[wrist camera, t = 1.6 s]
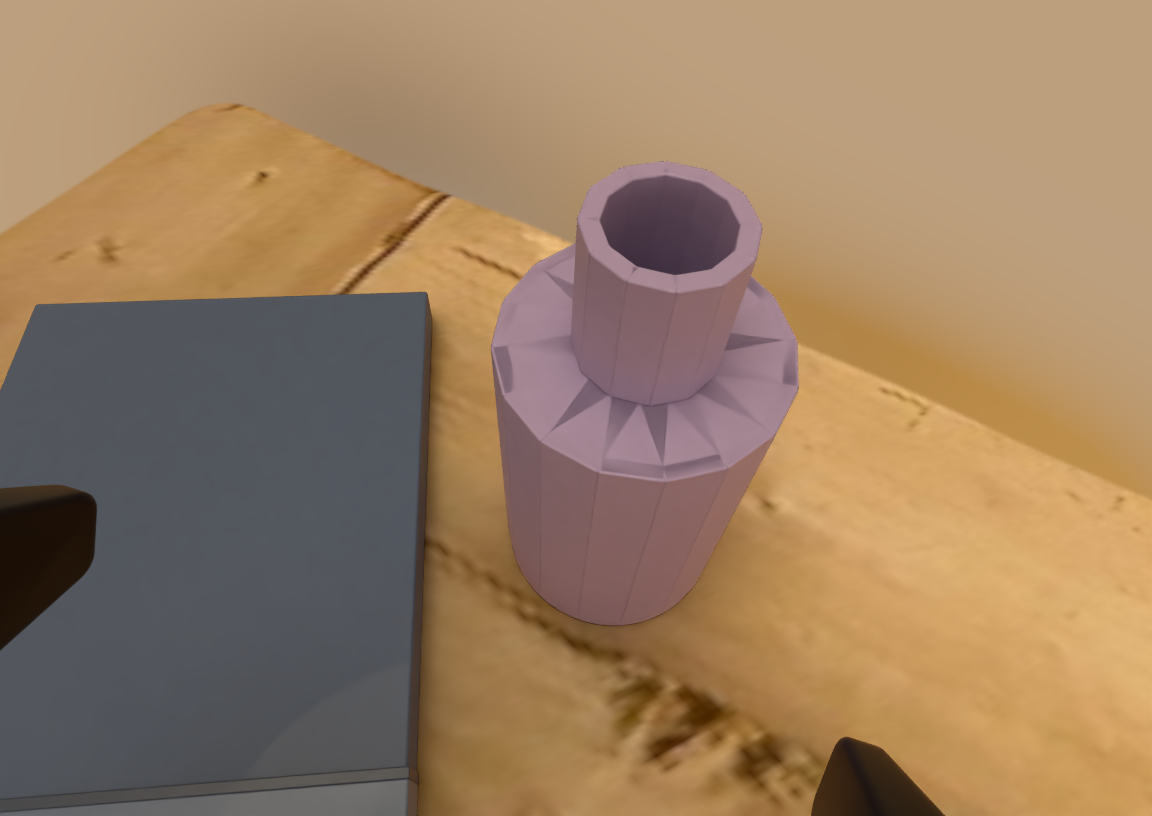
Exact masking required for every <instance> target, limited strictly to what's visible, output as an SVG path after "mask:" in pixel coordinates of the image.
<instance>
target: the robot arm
mask: <svg viewBox="0 0 1152 816" xmlns="http://www.w3.org/2000/svg"><path fill="white" fill-rule="evenodd" d="M96 521H97V504H96V501H95V499H94V497H93V496H92V495H91V494H89V493H87V492H84V491H81V490H78V489H74V488H71V487H68V486H65V485H40V486H26V487H11V488H0V651H1V650H2V649H3V648H4V647H5V646H6V645H7V644H8V643H10V642H11V641H12V640H13V639H14V638H15V637H16V636H17V635H18V634H20V633H21V632H22V631H23V630H24V629H25V628H26V627H27V626H29V625H30V624H31V623H32V622H33V621H34V620H35V619H36V618H37V617H39V616H40V615H41V614H42V613H43V612H44V611H45V610H46V609H47V608H49V607H50V606H51V605H52V604H53V603H54V602H55V601H56V600H57V599H59V598H60V597H61V596H62V595H63V594H64V593H65V592H66V591H67V590H69V589H70V588H71V587H72V586H73V585H74V584H75V583H76V582H78V581H79V580H80V579H81V578H82V577H83V576H84V575H85V574H86V572H87V571H88V570H89V568H90V566H91V564H92V562H93V559H94V554H95V538H96ZM811 816H945V815H944V814H943V813H942V812H941V811H940V810H939V809H938V808H937V806H936V805H935V804H934V803H933V802H932V801H931V800H930V799H929V798H928V797H927V796H926V795H925V794H924V793H923V792H922V790H921V789H920V788H919V787H918V786H917V785H916V784H915V783H914V782H913V781H912V780H911V779H910V778H909V777H908V775H907V774H906V773H905V772H904V771H903V770H902V769H901V768H900V767H899V766H898V765H897V764H896V763H895V762H894V760H893V759H892V758H891V757H890V756H889V755H888V754H887V753H886V752H885V751H884V750H883V749H881V748H880V747H878V746H875V745H872V744H869V743H866V742H862V741H859V740H856V739H853V738H850V737H844V738H842V739H840V740H839V741H838V742H837V744H836V745H835V747H834V750H833V752H832V755H831V757H830V760H829V762H828V765H827V767H826V770H825V772H824V775H823V777H822V780H821V782H820V785H819V788H818V790H817V793H816V795H815V798H814V802H813V807H812V813H811Z"/></svg>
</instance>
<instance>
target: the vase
mask: <svg viewBox="0 0 1152 816" xmlns="http://www.w3.org/2000/svg"><path fill="white" fill-rule="evenodd" d="M761 234H762V224H761V222H760V220H759V218H758V216H757V215H756V213H755V211H754V209H753V207H752V205H751V204H750V202H749V200H748V198H747V196H746V195H745V194H744V193H743V192H742V191H740V190H739V189H737V188H736V187H734V186H733V185H731V184H730V183H728V182H726V181H725V180H724V179H722V178H721V177H719V176H717V175H716V174H714V173H713V172H711V171H708V170H706V169H701V168H696V167H692V166H687V165H682V164H678V163H673V162H669V161H666V162H664V161H659V162H653V163H646V164H638V165H631V166H625V167H623V168H619V169H618V170H617V171H615V172H613V173H612V174H610V175H609V176H607V177H605V178H604V179H602V180H601V181H599V182H598V183H596V184H595V185H593V186H591V188H590V189H589V190H588V192H587V195H586V197H585V200H584V203H583V205H582V208H581V210H580V213H579V215H578V218H577V231H576V243H575V244H573V245H571V246H569V247H567V248H565V249H563V250H561V251H559V252H557V253H555V254H553V255H551V256H549V257H547V258H546V259H544V260H542V261H540V262H538V263H536V264H535V265H533V266H532V267H531V269H530V270H529V271H528V272H527V273H526V274H525V276H524V277H523V278H522V279H521V280H520V281H519V283H518V284H517V285H516V286H515V287H514V288H513V290H512V291H511V292H510V293H509V294H508V295H507V296H506V298H505V299H504V301H503V302H502V305H501V309H500V313H499V317H498V321H497V324H496V328H495V332H494V336H493V340H492V344H491V355H492V365H493V375H494V386H495V396H496V406H497V416H498V427H499V437H500V447H501V457H502V467H503V478H504V488H505V498H506V508H507V519H508V527H509V531H510V536H511V541H512V548H513V551H514V555H515V558H516V561H517V563H518V565H519V567H520V570H521V572H522V573H523V575H524V577H525V578H526V580H527V581H528V583H529V584H530V585H531V586H532V588H533V589H534V590H535V591H536V592H537V593H538V594H539V595H540V596H541V597H542V598H543V599H544V600H545V601H546V602H547V603H549V604H550V605H552V606H553V607H555V608H556V609H558V610H559V611H561V612H563V613H565V614H567V615H569V616H571V617H573V618H576V619H579V620H582V621H585V622H589V623H594V624H600V625H611V626H612V625H628V624H633V623H639V622H642V621H645V620H648V619H651V618H654V617H656V616H658V615H660V614H662V613H664V612H666V611H667V610H669V609H670V608H671V607H673V606H674V605H676V604H677V603H678V602H679V601H680V600H681V599H682V598H684V597H685V596H686V594H687V593H688V592H689V591H690V590H691V589H692V588H693V587H694V586H695V584H696V582H697V580H698V578H699V577H700V575H701V573H702V571H703V569H704V567H705V565H706V564H707V562H708V560H709V558H710V556H711V554H712V552H713V551H714V549H715V547H716V545H717V543H718V541H719V539H720V538H721V536H722V534H723V532H724V530H725V528H726V527H727V525H728V523H729V521H730V519H731V517H732V515H733V514H734V512H735V510H736V508H737V506H738V504H739V502H740V501H741V499H742V497H743V495H744V493H745V491H746V489H747V488H748V486H749V484H750V482H751V480H752V478H753V476H754V475H755V473H756V471H757V469H758V467H759V465H760V463H761V462H762V460H763V458H764V456H765V454H766V452H767V450H768V449H769V447H770V445H771V443H772V441H773V439H774V437H775V436H776V434H777V432H778V430H779V428H780V426H781V424H782V422H783V420H784V418H785V416H786V414H787V412H788V410H789V408H790V406H791V404H792V402H793V400H794V399H795V397H796V395H797V393H798V389H799V379H798V347H797V341H796V337H795V335H794V333H793V331H792V329H791V328H790V326H789V324H788V322H787V320H786V318H785V316H784V314H783V312H782V311H781V308H780V307H779V305H778V303H777V301H776V299H775V297H773V295H772V294H771V293H770V292H769V291H768V290H767V289H765V288H764V287H763V286H762V285H761V284H760V283H759V282H757V281H756V280H755V279H754V278H753V277H752V276H751V274H752V270H753V268H754V265H755V262H756V259H757V254H758V250H759V244H760V239H761Z"/></svg>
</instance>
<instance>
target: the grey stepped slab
mask: <svg viewBox="0 0 1152 816" xmlns="http://www.w3.org/2000/svg"><path fill="white" fill-rule="evenodd" d="M431 341H432V315H431V310H430V304H429V299H428V294H427V293H426V292H408V293H377V294H346V295H315V296H284V297H254V298H223V299H192V300H161V301H130V302H100V303H69V304H38V305H36V306H35V308H34V310H33V313H32V315H31V318H30V320H29V323H28V325H27V327H26V330H25V332H24V335H23V337H22V339H21V342H20V344H19V347H18V349H17V352H16V354H15V356H14V359H13V361H12V364H11V366H10V368H9V371H8V373H7V376H6V378H5V381H4V383H3V385H2V388H1V390H0V488H11V487H26V486H40V485H65V486H68V487H71V488H74V489H78V490H81V491H84V492H87V493H89V494H91V495H92V496H93V497H94V499H95V501H96V504H97V521H96V538H95V554H94V559H93V562H92V564H91V566H90V568H89V570H88V571H87V572H86V574H85V575H84V576H83V577H82V578H81V579H80V580H79V581H78V582H76V583H75V584H74V585H73V586H72V587H71V588H70V589H69V590H67V591H66V592H65V593H64V594H63V595H62V596H61V597H60V598H59V599H57V600H56V601H55V602H54V603H53V604H52V605H51V606H50V607H49V608H47V609H46V610H45V611H44V612H43V613H42V614H41V615H40V616H39V617H37V618H36V619H35V620H34V621H33V622H32V623H31V624H30V625H29V626H27V627H26V628H25V629H24V630H23V631H22V632H21V633H20V634H18V635H17V636H16V637H15V638H14V639H13V640H12V641H11V642H10V643H8V644H7V645H6V646H5V647H4V648H3V649H2V650H1V651H0V816H417V799H418V784H419V773H418V772H417V745H418V716H419V687H420V658H421V629H422V600H423V572H424V543H425V514H426V485H427V456H428V427H429V398H430V370H431Z"/></svg>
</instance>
